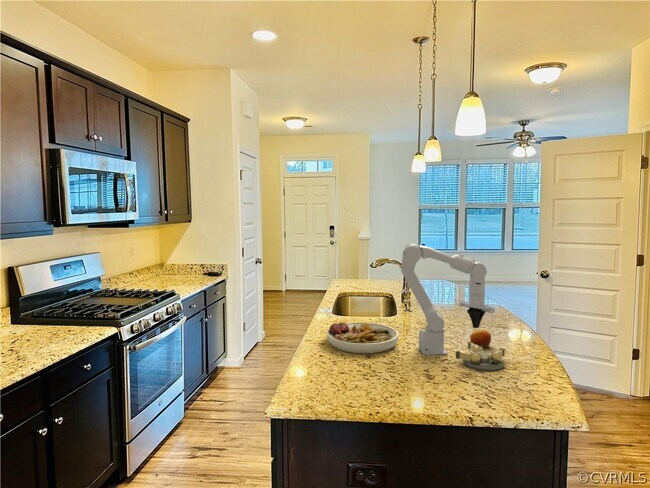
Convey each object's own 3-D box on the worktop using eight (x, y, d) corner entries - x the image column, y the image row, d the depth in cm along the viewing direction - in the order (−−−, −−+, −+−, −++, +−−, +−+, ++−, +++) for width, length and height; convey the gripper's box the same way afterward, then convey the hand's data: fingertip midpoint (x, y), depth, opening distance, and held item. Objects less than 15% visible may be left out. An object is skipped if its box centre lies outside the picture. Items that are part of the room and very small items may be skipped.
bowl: (401, 336, 186) (401, 318, 185) (393, 359, 157) (393, 339, 156) (337, 331, 194) (337, 314, 193) (318, 352, 165) (317, 333, 165)
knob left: (481, 362, 149) (482, 352, 149) (479, 365, 146) (479, 355, 146) (458, 357, 154) (458, 348, 154) (454, 360, 151) (455, 350, 151)
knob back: (484, 356, 154) (484, 347, 154) (474, 357, 154) (475, 348, 153) (474, 349, 162) (474, 340, 162) (465, 349, 162) (465, 340, 162)
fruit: (481, 348, 163) (475, 328, 167) (470, 352, 170) (465, 333, 174) (498, 346, 166) (492, 326, 169) (487, 350, 172) (481, 331, 176)
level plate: (472, 372, 144) (473, 359, 143) (456, 357, 158) (456, 346, 157) (511, 370, 145) (511, 357, 144) (491, 356, 159) (492, 344, 158)
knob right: (499, 364, 147) (500, 354, 146) (489, 361, 149) (489, 352, 149) (507, 357, 153) (507, 348, 153) (497, 355, 155) (497, 346, 155)
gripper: (500, 294, 156) (499, 330, 157) (467, 288, 168) (466, 321, 169) (488, 297, 152) (488, 333, 153) (456, 291, 164) (455, 324, 165)
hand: (476, 327), depth 161 cm, fingers closed
